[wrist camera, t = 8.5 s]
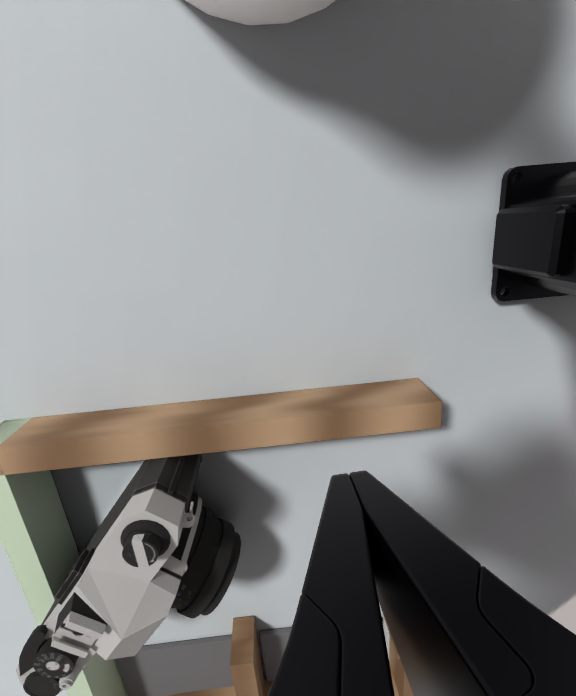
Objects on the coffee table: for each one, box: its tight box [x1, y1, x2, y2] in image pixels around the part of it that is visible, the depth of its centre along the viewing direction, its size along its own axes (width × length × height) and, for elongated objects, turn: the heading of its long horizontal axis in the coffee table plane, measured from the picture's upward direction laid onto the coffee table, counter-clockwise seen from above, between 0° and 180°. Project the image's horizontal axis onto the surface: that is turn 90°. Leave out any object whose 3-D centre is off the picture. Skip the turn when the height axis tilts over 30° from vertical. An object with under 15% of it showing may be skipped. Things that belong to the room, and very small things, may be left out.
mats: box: [116, 627, 292, 696], centre depth 28 cm, size 20×5×1 cm, turn 95°
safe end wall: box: [0, 418, 128, 696], centre depth 23 cm, size 2×26×3 cm, turn 5°
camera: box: [16, 454, 241, 696], centre depth 19 cm, size 13×8×9 cm, turn 147°
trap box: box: [0, 378, 442, 696], centre depth 24 cm, size 24×26×3 cm
